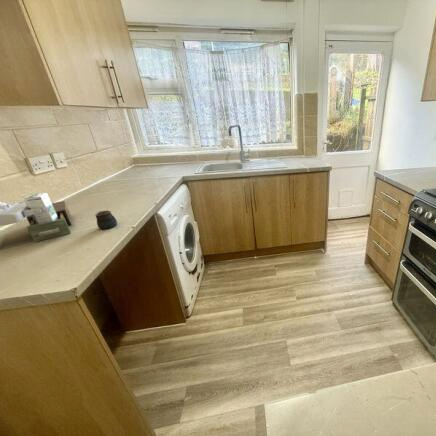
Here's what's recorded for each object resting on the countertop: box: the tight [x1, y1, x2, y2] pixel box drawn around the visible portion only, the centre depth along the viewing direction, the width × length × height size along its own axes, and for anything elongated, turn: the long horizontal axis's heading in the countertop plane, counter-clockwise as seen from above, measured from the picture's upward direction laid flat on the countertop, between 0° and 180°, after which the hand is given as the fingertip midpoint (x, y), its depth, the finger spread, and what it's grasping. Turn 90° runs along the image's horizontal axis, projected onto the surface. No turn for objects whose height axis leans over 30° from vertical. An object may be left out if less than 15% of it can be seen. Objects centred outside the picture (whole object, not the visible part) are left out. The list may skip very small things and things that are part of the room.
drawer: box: [26, 212, 71, 243], centre depth 105 cm, size 20×11×7 cm, turn 42°
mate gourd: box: [95, 210, 118, 231], centre depth 109 cm, size 7×8×10 cm
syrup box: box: [22, 192, 59, 224], centre depth 102 cm, size 6×6×14 cm
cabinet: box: [25, 200, 73, 227], centre depth 114 cm, size 17×13×9 cm
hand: (44, 207), depth 102 cm, fingers closed on syrup box, 5 cm apart
